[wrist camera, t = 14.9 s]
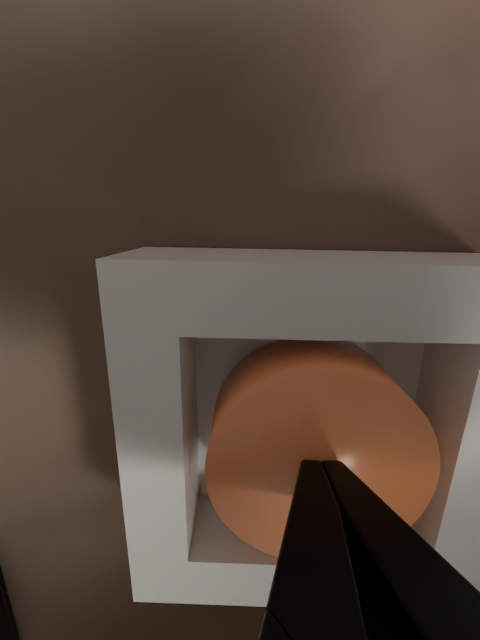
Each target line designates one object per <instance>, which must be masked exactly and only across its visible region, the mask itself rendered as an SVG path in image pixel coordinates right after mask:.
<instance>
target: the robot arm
mask: <svg viewBox="0 0 480 640" xmlns="http://www.w3.org/2000/svg"><path fill="white" fill-rule="evenodd" d="M0 640H19V638H18V634H17V630H16V627H15V623H14V619H13V615H12V612H11V608H10V604H9V600H8V597H7V593H6V589H5V585H4V582H3V578H2V574H1V571H0ZM258 640H480V591H478V590H477V589H476V588H475V587H474V586H473V585H472V584H471V583H470V582H469V581H468V580H467V579H466V578H465V577H464V576H463V575H462V574H460V573H459V572H458V571H457V570H456V569H455V568H454V567H453V566H452V565H451V564H450V563H449V562H448V561H447V560H446V559H445V558H443V557H442V556H441V555H440V554H439V553H438V552H437V551H436V550H435V549H434V548H433V547H432V546H431V545H430V544H429V543H428V542H427V541H425V540H424V539H423V538H422V537H421V536H420V535H419V534H418V533H417V532H416V531H415V530H414V529H413V528H412V527H411V526H410V525H408V524H407V523H406V522H405V521H404V520H403V519H402V518H401V517H400V516H399V515H398V514H397V513H396V512H395V511H394V510H393V509H392V508H390V507H389V506H388V505H387V504H386V503H385V502H384V501H383V500H382V499H381V498H380V497H379V496H378V495H377V494H376V493H375V492H373V491H372V490H371V489H370V488H369V487H368V486H367V485H366V484H365V483H364V482H363V481H362V480H361V479H360V478H359V477H358V476H357V475H355V474H354V473H353V472H352V471H351V470H350V469H349V468H348V467H347V466H346V465H345V464H344V463H343V462H341V461H338V460H323V461H322V462H321V461H319V460H308V459H304V460H302V461H301V464H300V468H299V472H298V476H297V481H296V485H295V489H294V493H293V497H292V501H291V506H290V510H289V514H288V518H287V522H286V526H285V531H284V535H283V539H282V543H281V547H280V551H279V556H278V560H277V564H276V568H275V572H274V577H273V581H272V585H271V589H270V593H269V597H268V602H267V606H266V611H265V613H264V617H263V621H262V625H261V630H260V634H259V638H258Z"/></svg>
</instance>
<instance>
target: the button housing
mask: <svg viewBox="0 0 480 640" xmlns="http://www.w3.org/2000/svg"><path fill="white" fill-rule="evenodd" d="M95 260H96V269H97V278H98V287H99V296H100V305H101V314H102V323H103V332H104V341H105V350H106V359H107V368H108V377H109V386H110V395H111V404H112V413H113V422H114V431H115V440H116V449H117V458H118V467H119V476H120V485H121V494H122V503H123V512H124V522H125V531H126V540H127V549H128V558H129V567H130V576H131V585H132V594H133V602H154V603H179V604H205V605H230V606H256V607H266V606H267V602H268V597H269V593H270V589H271V585H272V581H273V577H274V572H275V568H276V564H277V560H278V557H276V556H272V555H270V554H267V553H265V552H262V551H260V550H258V549H256V548H254V547H252V546H251V545H249V544H247V543H246V542H244V541H243V540H242V539H240V538H239V537H237V536H236V535H235V534H234V533H233V532H232V531H231V530H230V529H229V528H228V527H227V526H226V525H225V524H224V522H223V521H222V520H221V519H220V517H219V516H218V514H217V513H216V511H215V509H214V508H213V505H212V503H211V501H210V498H209V495H208V492H207V488H206V482H205V459H206V454H207V448H208V443H209V437H210V432H211V426H212V420H213V415H214V409H215V405H216V400H217V397H218V394H219V391H220V389H221V387H222V385H223V383H224V381H225V380H226V378H227V377H228V375H229V374H230V373H231V371H232V370H233V369H234V368H235V367H236V366H237V365H238V364H239V363H240V362H241V361H242V360H243V359H244V358H246V357H247V356H248V355H250V354H251V353H252V352H254V351H256V350H257V349H259V348H261V347H263V346H265V345H267V344H270V343H272V342H274V341H278V340H321V341H345V342H348V343H350V344H352V345H354V346H356V347H358V348H360V349H362V350H363V351H365V352H366V353H368V354H369V355H370V356H372V357H373V358H374V359H375V360H376V361H377V362H378V363H379V364H380V365H381V366H382V367H383V368H384V369H385V370H386V372H387V373H388V374H389V375H390V376H391V377H392V378H393V379H394V380H395V381H396V383H397V384H398V385H399V386H400V387H401V388H402V389H403V390H404V391H405V392H406V393H407V395H408V396H409V397H410V398H411V399H412V400H413V401H414V402H415V403H416V404H417V405H418V407H419V408H420V409H421V410H422V412H423V413H424V414H425V416H426V417H427V418H428V420H429V422H430V424H431V426H432V427H433V429H434V432H435V435H436V438H437V440H438V445H439V450H440V473H439V479H438V483H437V486H436V489H435V492H434V494H433V496H432V499H431V501H430V503H429V504H428V506H427V507H426V509H425V510H424V512H423V513H422V515H421V516H420V517H419V518H418V519H417V521H416V522H415V523H414V524H413V525H412V526H411V527H412V528H413V529H414V530H415V531H416V532H417V533H418V534H419V535H420V536H421V537H422V538H423V539H424V540H425V541H427V542H428V543H429V544H430V545H431V546H432V547H433V548H434V549H435V550H436V551H437V552H438V553H439V554H440V555H441V556H442V557H443V558H445V559H446V560H447V561H448V562H449V563H450V564H451V565H452V566H453V567H454V568H455V569H456V570H457V571H458V572H459V573H460V574H462V575H463V576H464V577H465V578H466V579H467V580H468V581H469V582H470V583H471V584H472V585H473V586H474V587H475V588H476V589H477V590H478V591H480V253H455V252H401V251H346V250H292V249H238V248H184V247H142V248H138V249H134V250H130V251H126V252H122V253H118V254H114V255H110V256H106V257H102V258H98V259H95Z"/></svg>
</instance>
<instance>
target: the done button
mask: <svg viewBox="0 0 480 640" xmlns="http://www.w3.org/2000/svg"><path fill="white" fill-rule="evenodd" d="M304 459H308V460H319V461H321V462H322V461H323V460H338V461H341V462H343V463H344V464H345V465H346V466H347V467H348V468H349V469H350V470H351V471H352V472H353V473H354V474H355V475H357V476H358V477H359V478H360V479H361V480H362V481H363V482H364V483H365V484H366V485H367V486H368V487H369V488H370V489H371V490H372V491H373V492H375V493H376V494H377V495H378V496H379V497H380V498H381V499H382V500H383V501H384V502H385V503H386V504H387V505H388V506H389V507H390V508H392V509H393V510H394V511H395V512H396V513H397V514H398V515H399V516H400V517H401V518H402V519H403V520H404V521H405V522H406V523H407V524H408V525H410V526H412V525H413V524H414V523H415V522H416V521H417V519H418V518H419V517H420V516H421V515H422V513H423V512H424V510H425V509H426V507H427V506H428V504H429V503H430V501H431V499H432V496H433V494H434V492H435V489H436V486H437V483H438V479H439V473H440V450H439V445H438V440H437V438H436V435H435V432H434V429H433V427H432V426H431V424H430V422H429V420H428V418H427V417H426V416H425V414H424V413H423V412H422V410H421V409H420V408H419V407H418V405H417V404H416V403H415V402H414V401H413V400H412V399H411V398H410V397H409V396H408V395H407V393H406V392H405V391H404V390H403V389H402V388H401V387H400V386H399V385H398V384H397V383H396V381H395V380H394V379H393V378H392V377H391V376H390V375H389V374H388V373H387V372H386V370H385V369H384V368H383V367H382V366H381V365H380V364H379V363H378V362H377V361H376V360H375V359H374V358H373V357H372V356H370V355H369V354H368V353H366V352H365V351H363V350H362V349H360V348H358V347H356V346H354V345H352V344H350V343H348V342H345V341H321V340H278V341H274V342H272V343H270V344H267V345H265V346H263V347H261V348H259V349H257V350H256V351H254V352H252V353H251V354H250V355H248V356H247V357H246V358H244V359H243V360H242V361H241V362H240V363H239V364H238V365H237V366H236V367H235V368H234V369H233V370H232V371H231V373H230V374H229V375H228V377H227V378H226V380H225V381H224V383H223V385H222V387H221V389H220V391H219V394H218V397H217V400H216V405H215V409H214V415H213V420H212V426H211V432H210V437H209V443H208V448H207V454H206V459H205V482H206V488H207V492H208V495H209V498H210V501H211V503H212V505H213V508H214V509H215V511H216V513H217V514H218V516H219V517H220V519H221V520H222V521H223V522H224V524H225V525H226V526H227V527H228V528H229V529H230V530H231V531H232V532H233V533H234V534H235V535H236V536H237V537H239V538H240V539H242V540H243V541H244V542H246V543H247V544H249V545H251V546H252V547H254V548H256V549H258V550H260V551H262V552H265V553H267V554H270V555H272V556H276V557H278V556H279V551H280V547H281V543H282V539H283V535H284V531H285V526H286V522H287V518H288V514H289V510H290V506H291V501H292V497H293V493H294V489H295V485H296V481H297V476H298V472H299V468H300V464H301V461H302V460H304Z"/></svg>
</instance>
